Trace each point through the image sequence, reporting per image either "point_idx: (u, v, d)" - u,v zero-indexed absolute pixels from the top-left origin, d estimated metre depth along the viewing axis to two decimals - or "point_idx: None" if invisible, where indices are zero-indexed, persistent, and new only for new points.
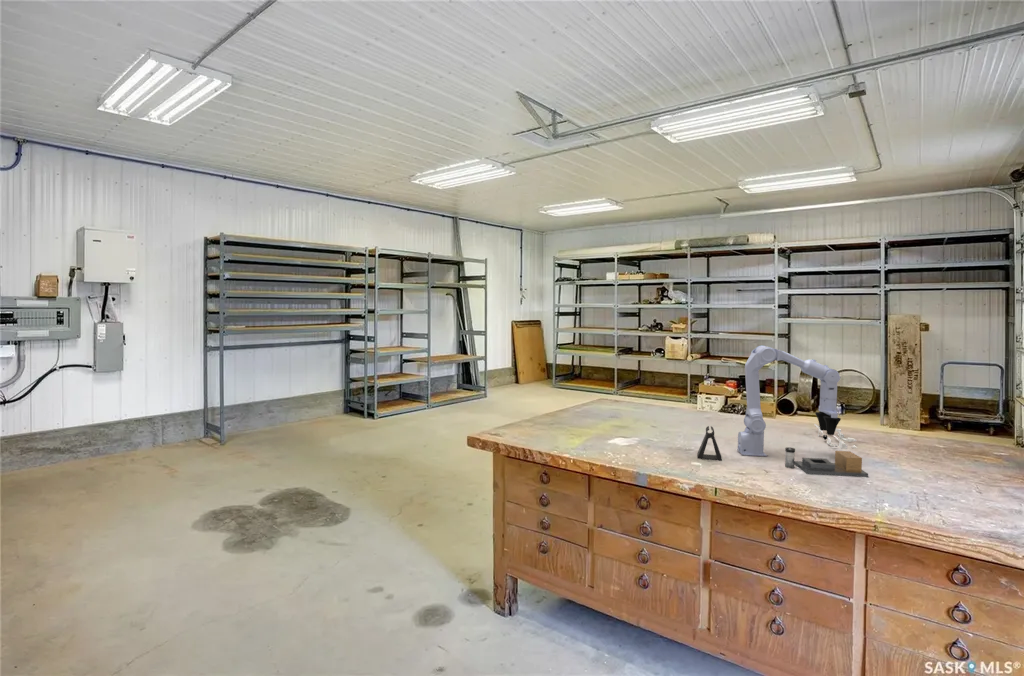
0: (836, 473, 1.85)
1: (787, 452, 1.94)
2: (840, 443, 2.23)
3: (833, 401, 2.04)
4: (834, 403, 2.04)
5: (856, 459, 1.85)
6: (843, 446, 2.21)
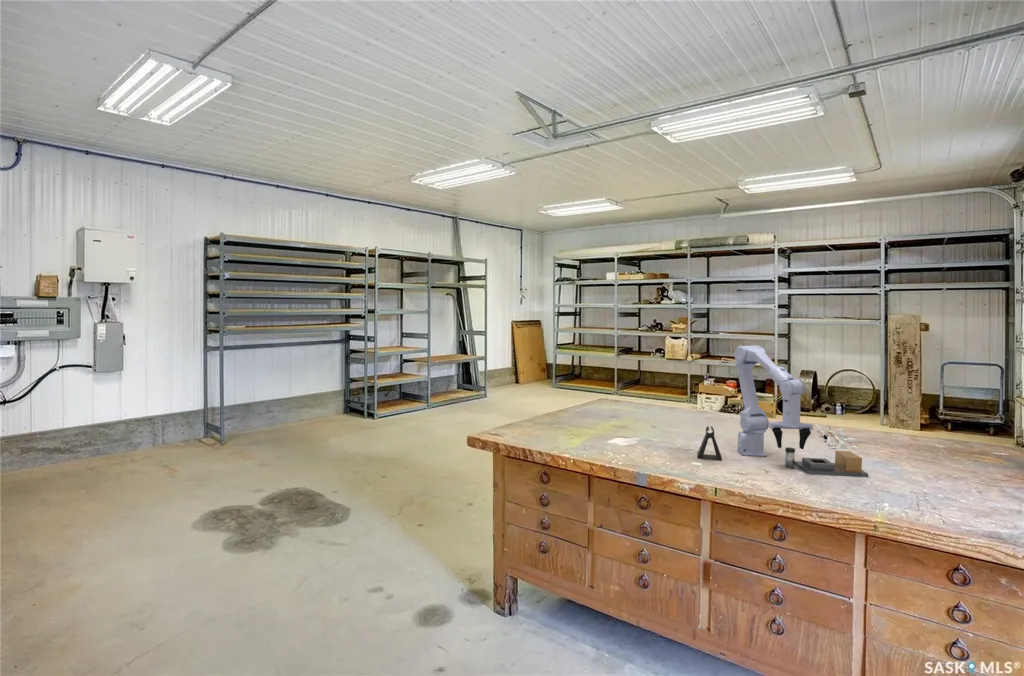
0: (836, 473, 1.85)
1: (787, 452, 1.94)
2: (840, 443, 2.23)
3: (784, 414, 1.94)
4: (785, 416, 1.93)
5: (856, 459, 1.85)
6: (842, 446, 2.21)
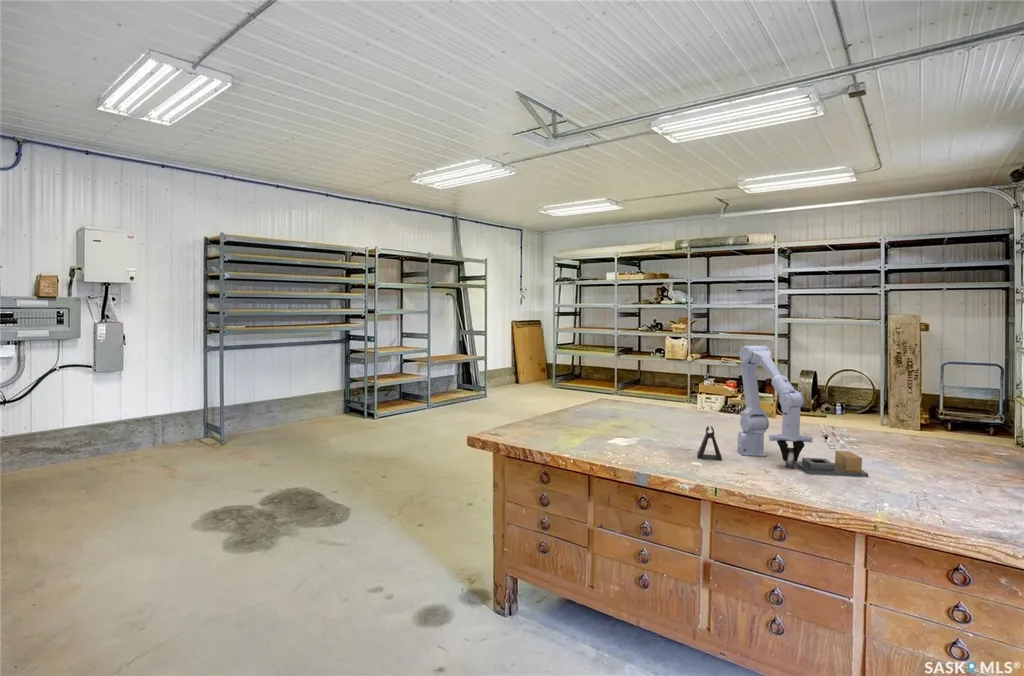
0: (836, 473, 1.85)
1: (787, 452, 1.94)
2: (839, 443, 2.24)
3: (784, 426, 1.94)
4: (785, 429, 1.93)
5: (856, 459, 1.85)
6: (842, 446, 2.22)
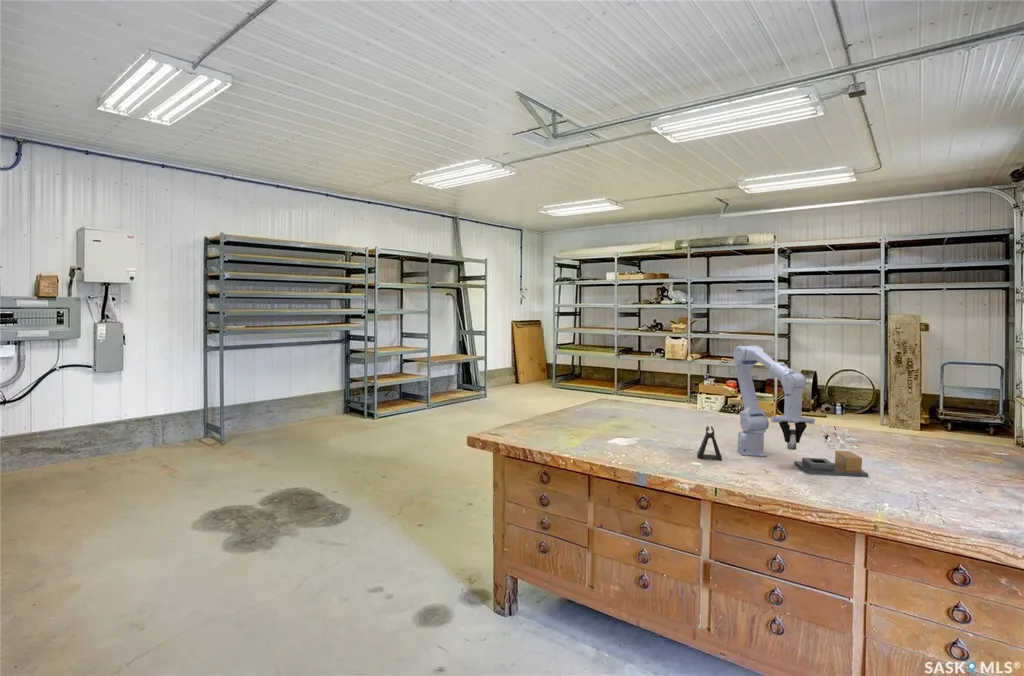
0: (836, 473, 1.85)
1: (789, 434, 1.94)
2: (839, 443, 2.24)
3: (786, 408, 1.93)
4: (787, 410, 1.93)
5: (856, 459, 1.85)
6: (841, 446, 2.22)
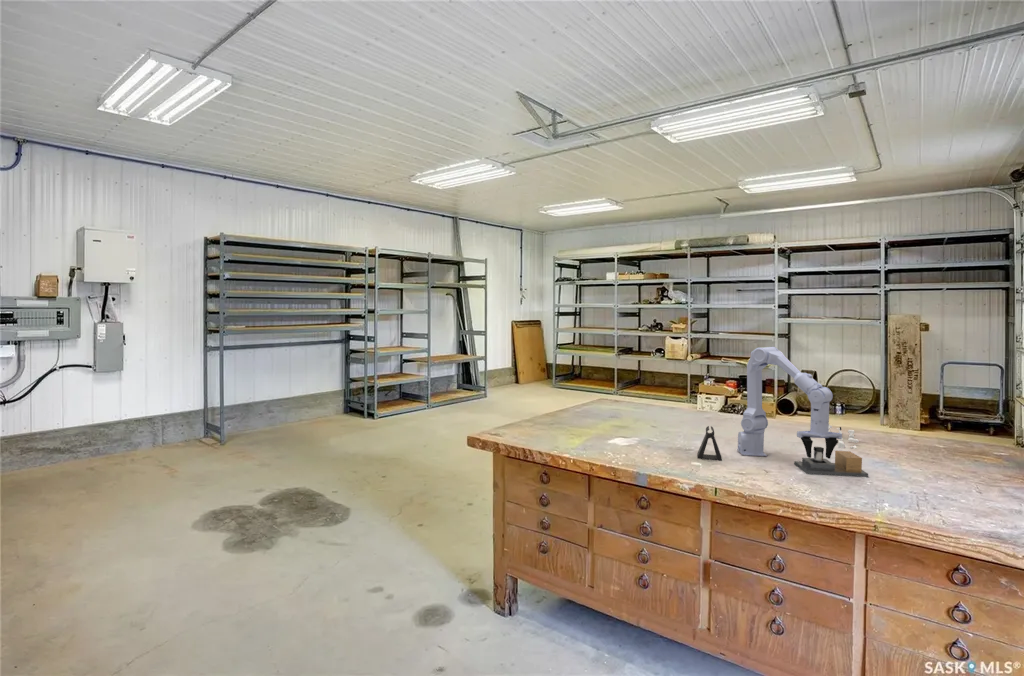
0: (836, 473, 1.85)
1: (815, 452, 1.91)
2: (838, 443, 2.24)
3: (812, 422, 1.90)
4: (813, 425, 1.90)
5: (856, 459, 1.85)
6: (840, 445, 2.22)
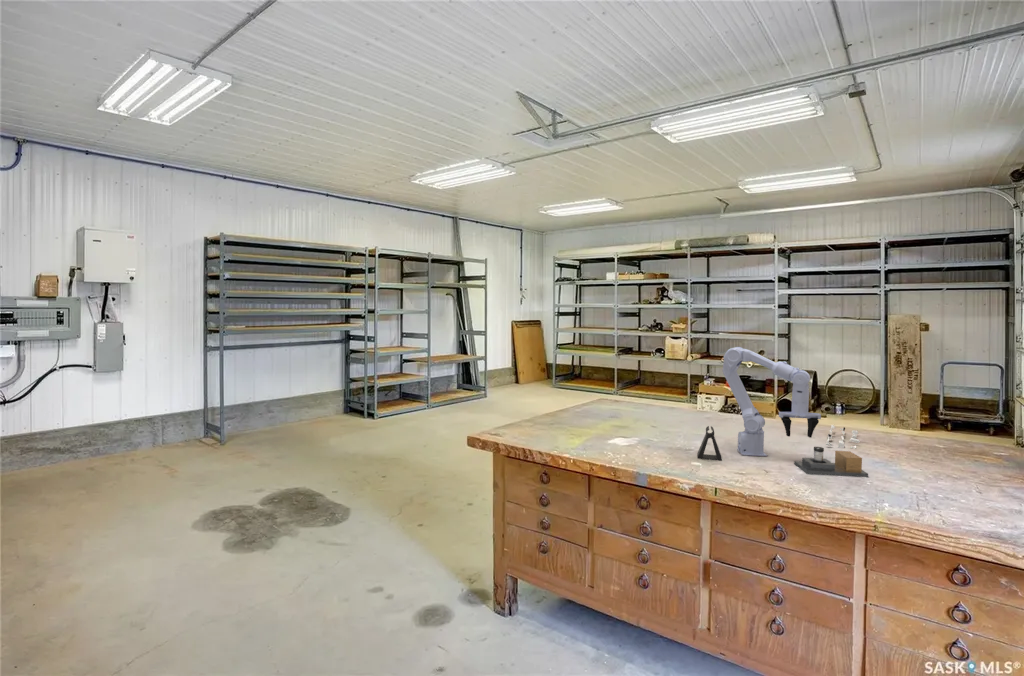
0: (836, 473, 1.85)
1: (815, 452, 1.91)
2: None
3: (793, 403, 2.02)
4: (794, 406, 2.02)
5: (856, 459, 1.85)
6: (840, 445, 2.22)
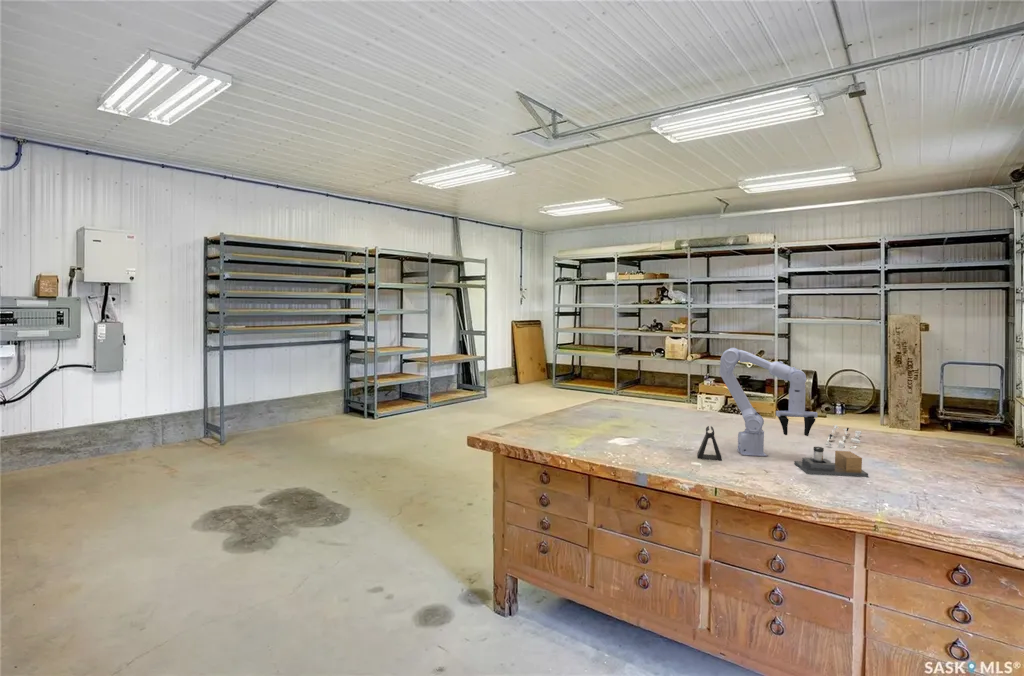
0: (836, 473, 1.85)
1: (815, 452, 1.91)
2: None
3: (790, 402, 2.04)
4: (791, 405, 2.04)
5: (856, 459, 1.85)
6: (839, 445, 2.23)
